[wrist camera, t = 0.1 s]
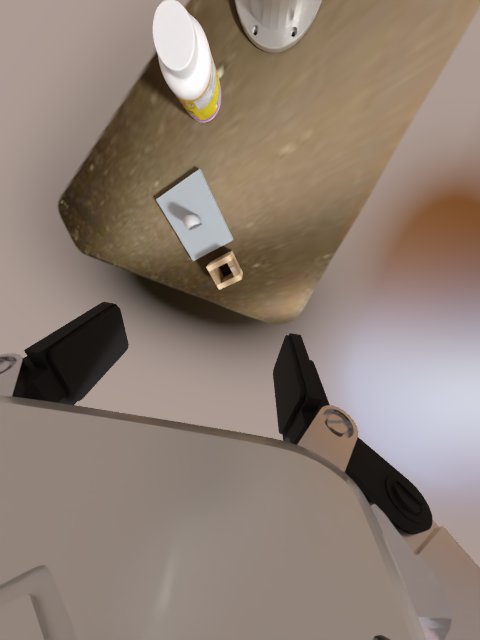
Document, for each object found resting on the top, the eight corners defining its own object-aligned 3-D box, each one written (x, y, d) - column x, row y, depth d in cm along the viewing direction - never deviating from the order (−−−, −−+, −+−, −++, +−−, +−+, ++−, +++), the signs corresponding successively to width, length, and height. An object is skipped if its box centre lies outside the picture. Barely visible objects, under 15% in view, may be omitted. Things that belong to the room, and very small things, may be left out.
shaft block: (158, 199, 39) (143, 198, 34) (201, 169, 36) (191, 163, 31) (194, 260, 45) (186, 266, 40) (233, 239, 42) (230, 243, 37)
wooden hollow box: (222, 282, 48) (218, 290, 43) (210, 261, 45) (205, 267, 41) (242, 272, 46) (241, 280, 41) (231, 250, 43) (229, 255, 39)
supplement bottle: (174, 86, 30) (129, 19, 19) (206, 51, 28) (175, -47, 17) (199, 134, 33) (171, 98, 22) (229, 105, 31) (215, 50, 20)
